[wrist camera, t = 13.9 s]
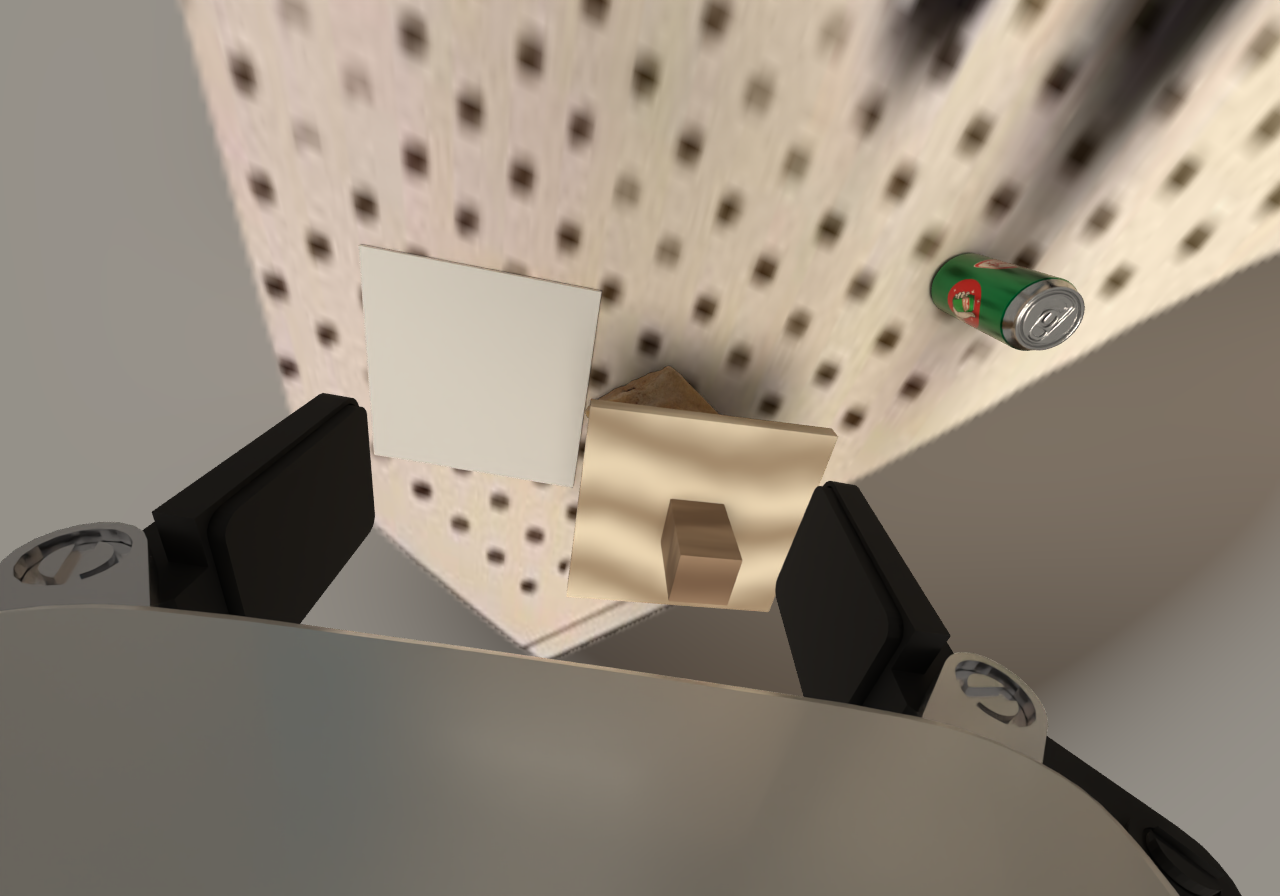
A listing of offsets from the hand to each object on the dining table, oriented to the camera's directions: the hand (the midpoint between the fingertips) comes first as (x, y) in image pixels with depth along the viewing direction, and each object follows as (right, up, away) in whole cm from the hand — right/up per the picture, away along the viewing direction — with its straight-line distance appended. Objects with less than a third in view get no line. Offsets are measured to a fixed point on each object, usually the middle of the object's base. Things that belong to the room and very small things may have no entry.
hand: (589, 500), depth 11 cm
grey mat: (-15, +8, +40) cm, 43 cm away
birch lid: (+5, -4, +29) cm, 29 cm away
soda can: (+29, +16, +35) cm, 48 cm away
